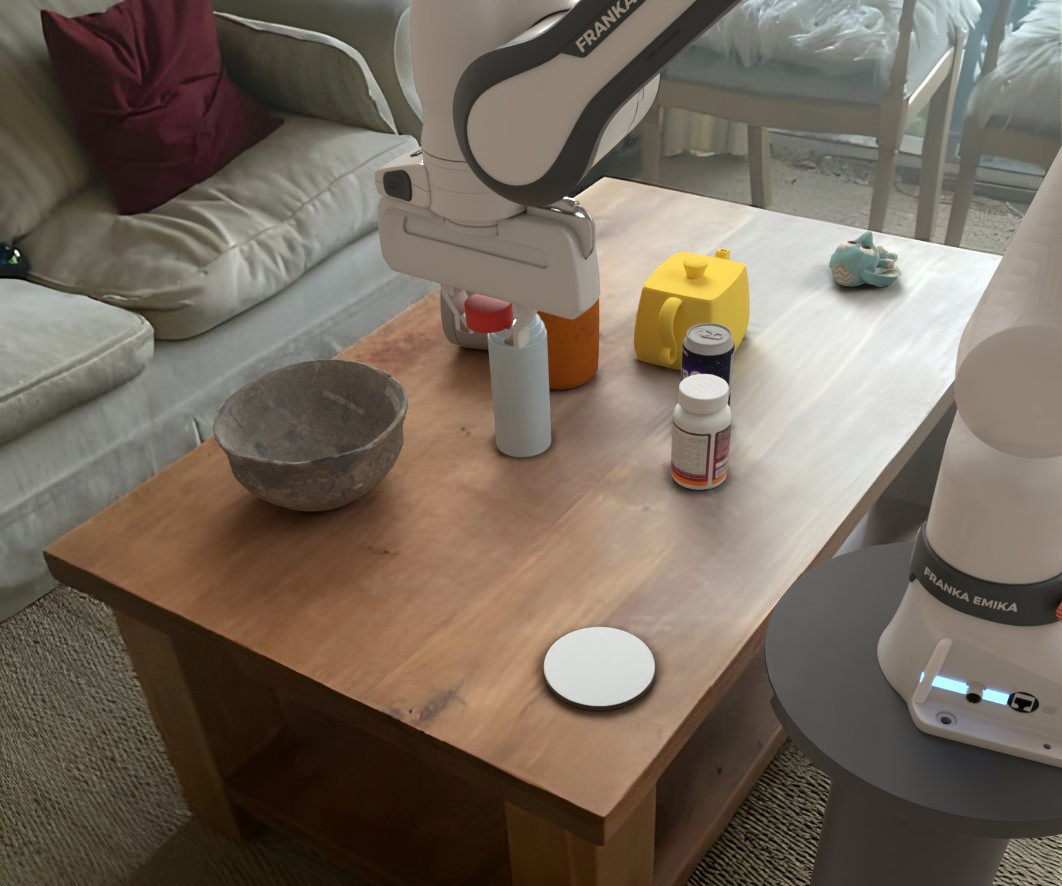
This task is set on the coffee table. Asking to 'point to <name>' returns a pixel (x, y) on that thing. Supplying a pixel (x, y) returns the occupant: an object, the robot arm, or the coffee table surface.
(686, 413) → the pill bottle
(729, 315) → the teapot
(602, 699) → the coaster
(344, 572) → the coffee table surface
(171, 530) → the coffee table surface
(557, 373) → the wine bottle
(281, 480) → the bowl
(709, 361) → the beverage can
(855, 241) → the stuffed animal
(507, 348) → the bottle
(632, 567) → the coffee table surface
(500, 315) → the cap
